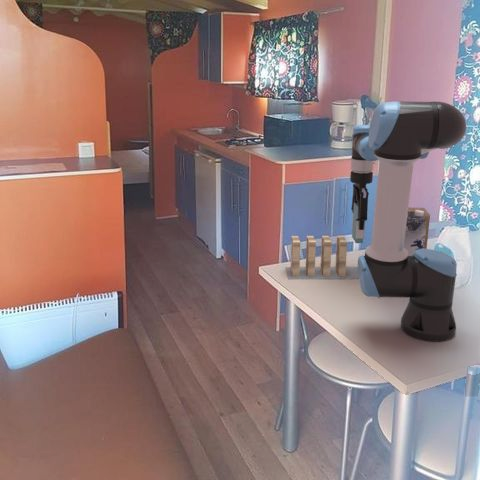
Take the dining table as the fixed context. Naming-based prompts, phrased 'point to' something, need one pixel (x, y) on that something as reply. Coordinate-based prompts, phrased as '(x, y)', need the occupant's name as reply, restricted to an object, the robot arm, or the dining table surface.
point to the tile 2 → (310, 256)
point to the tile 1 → (295, 256)
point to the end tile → (355, 224)
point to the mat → (350, 274)
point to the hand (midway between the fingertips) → (357, 234)
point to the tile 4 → (341, 256)
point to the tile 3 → (325, 255)
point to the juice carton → (415, 231)
